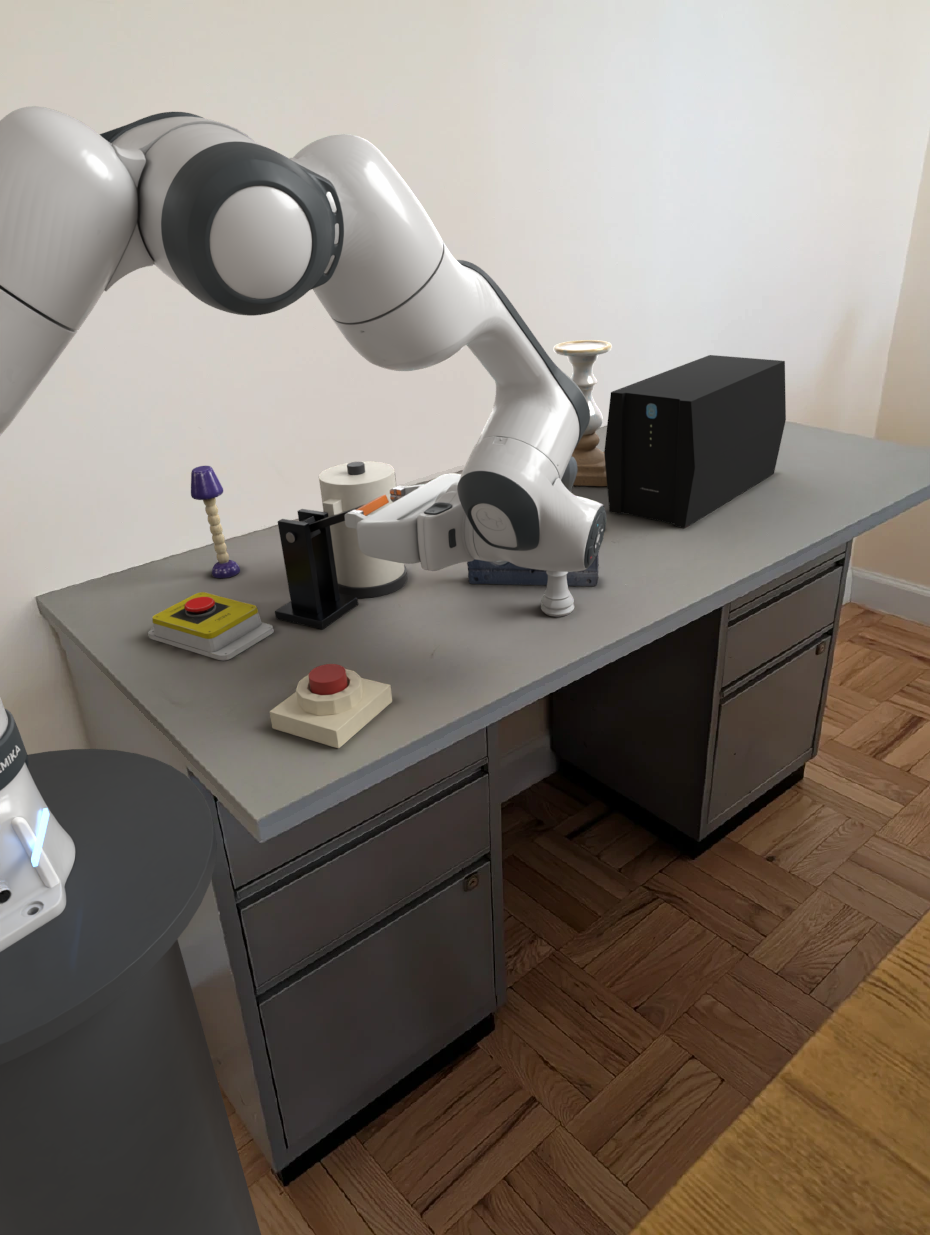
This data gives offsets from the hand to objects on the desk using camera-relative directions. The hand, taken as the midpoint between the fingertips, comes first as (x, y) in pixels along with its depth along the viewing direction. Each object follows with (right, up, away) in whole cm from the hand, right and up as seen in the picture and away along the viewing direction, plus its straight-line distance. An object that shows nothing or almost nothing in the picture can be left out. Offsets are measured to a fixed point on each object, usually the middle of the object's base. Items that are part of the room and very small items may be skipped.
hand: (371, 505), depth 109 cm
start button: (-3, -21, -12) cm, 25 cm away
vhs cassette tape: (+21, -9, +17) cm, 29 cm away
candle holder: (+33, +13, +58) cm, 68 cm away
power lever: (-5, -2, +4) cm, 7 cm away
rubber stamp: (+28, +1, +35) cm, 45 cm away
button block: (-3, -24, -11) cm, 27 cm away
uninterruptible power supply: (+52, +8, +47) cm, 71 cm away
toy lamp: (-25, -7, +27) cm, 38 cm away
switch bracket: (-9, -13, +13) cm, 20 cm away
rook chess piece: (+24, -13, +9) cm, 28 cm away
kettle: (-2, -9, +21) cm, 23 cm away
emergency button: (-22, -16, +9) cm, 29 cm away
